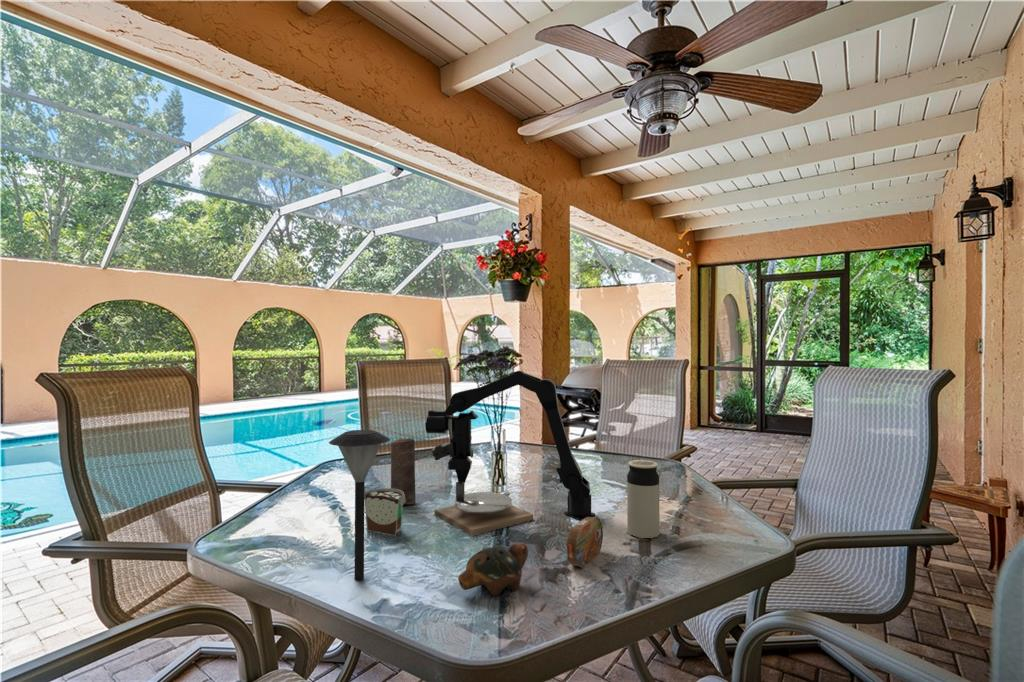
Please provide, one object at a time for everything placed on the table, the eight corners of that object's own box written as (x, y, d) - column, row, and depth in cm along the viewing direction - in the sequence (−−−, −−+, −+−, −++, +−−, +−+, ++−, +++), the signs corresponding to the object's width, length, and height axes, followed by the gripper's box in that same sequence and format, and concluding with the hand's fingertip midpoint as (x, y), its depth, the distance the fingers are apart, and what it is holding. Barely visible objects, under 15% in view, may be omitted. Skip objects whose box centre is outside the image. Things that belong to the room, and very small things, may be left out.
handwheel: (511, 502, 146) (511, 475, 146) (512, 520, 130) (512, 490, 130) (457, 502, 145) (457, 475, 145) (451, 520, 129) (451, 490, 129)
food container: (415, 529, 128) (415, 491, 128) (400, 537, 123) (400, 497, 123) (378, 522, 133) (378, 485, 134) (362, 529, 128) (362, 491, 128)
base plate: (533, 519, 135) (533, 513, 135) (472, 536, 123) (472, 529, 123) (492, 502, 151) (492, 496, 151) (434, 515, 139) (434, 509, 139)
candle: (401, 509, 144) (401, 441, 145) (385, 504, 149) (385, 439, 149) (420, 503, 150) (420, 438, 151) (404, 498, 155) (405, 435, 155)
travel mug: (664, 539, 121) (663, 466, 122) (633, 540, 121) (632, 466, 121) (653, 527, 129) (652, 459, 130) (623, 528, 129) (623, 459, 129)
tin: (577, 574, 102) (577, 533, 103) (564, 570, 104) (564, 530, 104) (604, 549, 115) (604, 513, 115) (591, 546, 117) (591, 511, 117)
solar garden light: (355, 562, 108) (356, 426, 109) (401, 571, 103) (402, 429, 104) (313, 586, 97) (315, 434, 97) (363, 598, 92) (364, 439, 93)
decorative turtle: (541, 586, 97) (540, 547, 96) (475, 615, 88) (474, 572, 88) (512, 566, 105) (511, 530, 104) (450, 591, 96) (448, 551, 95)
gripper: (437, 429, 153) (437, 479, 153) (429, 439, 135) (429, 496, 134) (473, 429, 154) (473, 478, 153) (470, 439, 135) (470, 496, 135)
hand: (461, 487), depth 144 cm, fingers closed
